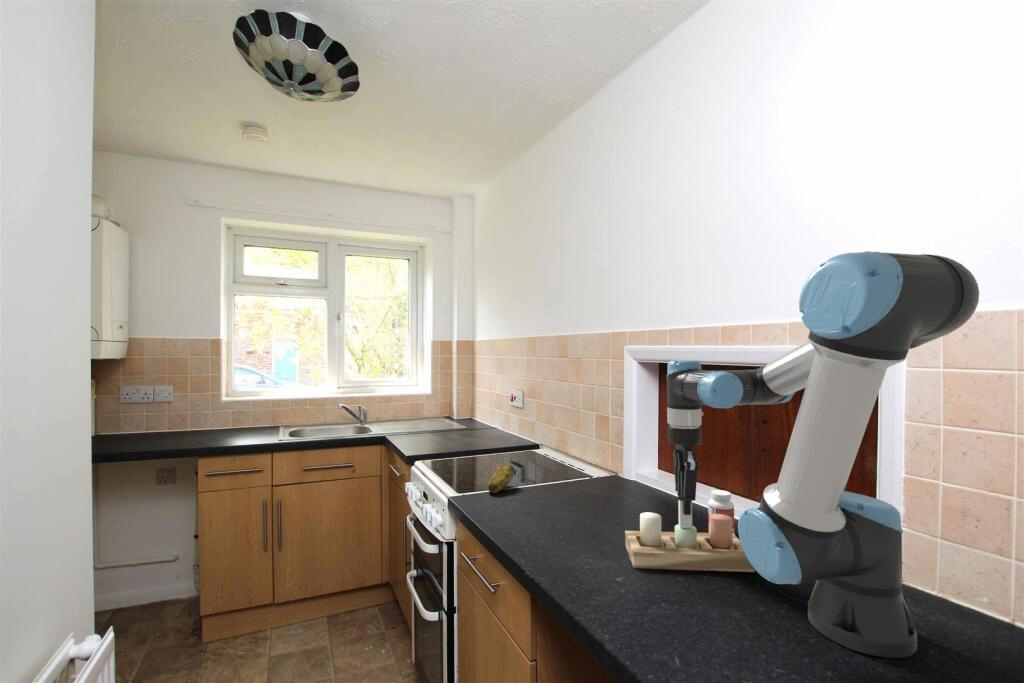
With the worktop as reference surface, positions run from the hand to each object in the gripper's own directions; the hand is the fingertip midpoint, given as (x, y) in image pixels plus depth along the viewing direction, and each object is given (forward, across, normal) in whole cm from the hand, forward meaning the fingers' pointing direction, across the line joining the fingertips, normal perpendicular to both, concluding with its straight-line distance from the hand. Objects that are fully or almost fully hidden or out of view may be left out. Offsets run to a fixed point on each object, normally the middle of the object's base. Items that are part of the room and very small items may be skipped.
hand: (685, 526), depth 108 cm
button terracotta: (+4, 0, -8) cm, 9 cm away
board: (+7, 0, 0) cm, 7 cm away
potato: (+8, +48, +49) cm, 69 cm away
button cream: (+4, 0, +8) cm, 9 cm away
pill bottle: (+7, +14, -13) cm, 20 cm away
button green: (+6, 0, 0) cm, 6 cm away
